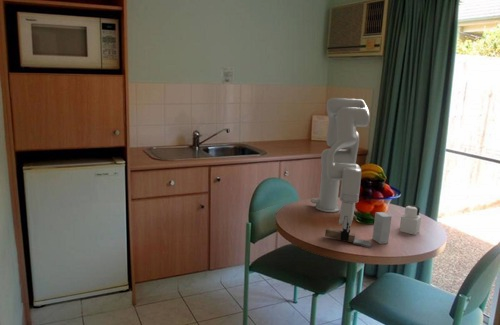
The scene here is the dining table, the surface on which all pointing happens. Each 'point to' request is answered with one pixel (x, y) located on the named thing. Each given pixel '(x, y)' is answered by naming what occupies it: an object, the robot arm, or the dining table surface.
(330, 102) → the robot arm
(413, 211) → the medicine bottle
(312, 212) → the dining table surface
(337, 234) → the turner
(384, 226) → the skincare box
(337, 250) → the dining table surface
